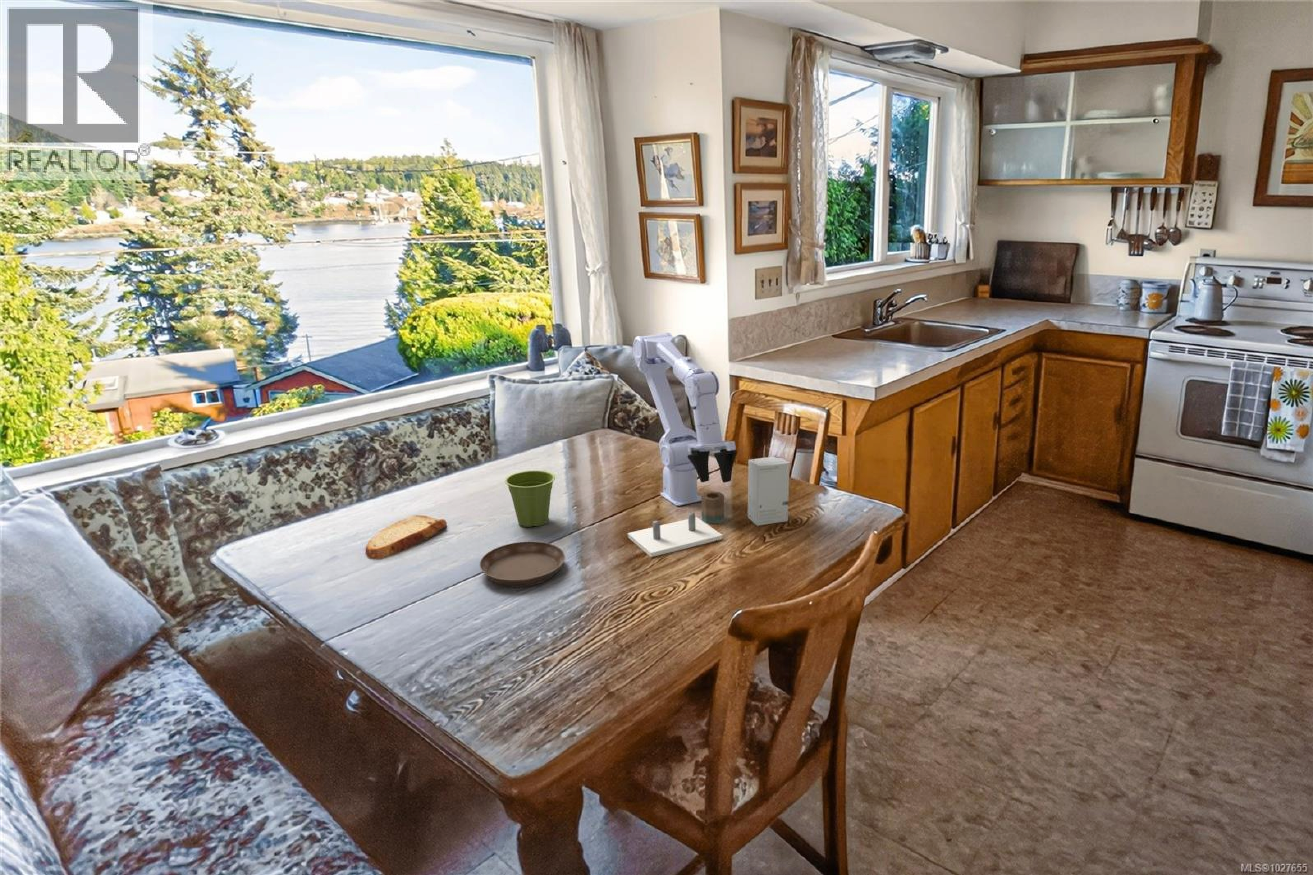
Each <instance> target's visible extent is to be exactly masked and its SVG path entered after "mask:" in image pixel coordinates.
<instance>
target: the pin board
mask: <svg viewBox="0 0 1313 875" xmlns="http://www.w3.org/2000/svg"><path fill="white" fill-rule="evenodd" d="M687 514H688V515H687V518H686V519H682V520H678V521H673V522H670V523H665V524H662V525H661V521H660V520H654V521H652V527H648V528H644V529H643V528H642V529H639V530H635V531H631V532H627V538H628V539H630V540H631V541H632V543H634V544H635V545H637V546H638V547H639V548H640V549H641V550H642V551H643V552H644V553H646V554H647V555H648V556H649V557H650V558H653V557H657V556H661V555H664V554H670V553H673V552H677V551H681V550H685V549H689V548H692V547H697V546H701V545H704V544H709V543H713V542H717V541H720V540H723V536H724V535H723V534H722V533H720V532H719V531H718V530H716V529H715V528H713V527H712V526H710V525H709V524H708V523H706V522H705V521H703V520H702V519H700V518H699V517H697V516H696V512H691V511H690V512H688V513H687ZM716 540H717V541H716Z"/></svg>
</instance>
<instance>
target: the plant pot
mask: <svg viewBox="0 0 1313 875" xmlns="http://www.w3.org/2000/svg"><path fill="white" fill-rule="evenodd" d="M555 479H556V476H555V474H554V473H552V472H550V471H546V470H537V469H536V470H525V471H519V472H515V473H513V474H511V475H508V476H507V477H506V478H505V479H504V483H505V484H506V486H508V491H509V493H510V496H511V501H512V502H513V507H514V512H515V517H516V519H517V523H518V524H519V525H520V526H522V527H525V528H526V527H527V528H531V527H534V526H535V527H540V526H543V525H545V524H547V523H548V521H549V515H550V514H549V513H550V507H551V506H550V505H551V497H552V496H551V495H552V490H553V484H554V481H555Z"/></svg>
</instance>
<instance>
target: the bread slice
mask: <svg viewBox="0 0 1313 875" xmlns="http://www.w3.org/2000/svg"><path fill="white" fill-rule="evenodd" d="M446 527H447V521H446V519H444V518H441V519H438V518H434V517H430V516H428V515H420V514H414V515H412V516H409V517H407V518H404V519H400V520H398V521H396V522H394V523H392V524H390V525H388V526H386V527H384V528H383V529H381V530H380V531H379V533H377V534H376V535H375V536H373V537H372V538H371V539H369V540H368V542H367V544H366V546H365V555H366V556H367V558H369V559H372V560H380V559H385V558H387V557H390V556H392V555H395V554H398V553H400V552H403V551H405V550H407V549H410V548H411V547H413V546H416V545H419V544H420V543H422V542H424V541H426V540H428V539H430V538H432V536H435V535H437V534H438V533H439V532H440V531H442V530H444V528H446Z"/></svg>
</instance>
